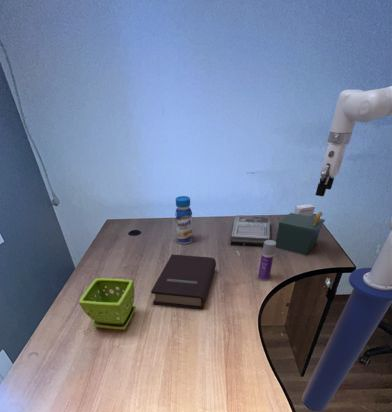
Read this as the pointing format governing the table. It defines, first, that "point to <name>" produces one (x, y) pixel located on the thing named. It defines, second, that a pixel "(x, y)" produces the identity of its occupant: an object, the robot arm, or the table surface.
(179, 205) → the beverage bottle
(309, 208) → the ink box
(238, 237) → the hard drive
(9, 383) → the table surface
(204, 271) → the book
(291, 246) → the chest
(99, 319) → the flower pot
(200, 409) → the table surface
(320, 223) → the lid
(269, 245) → the container
